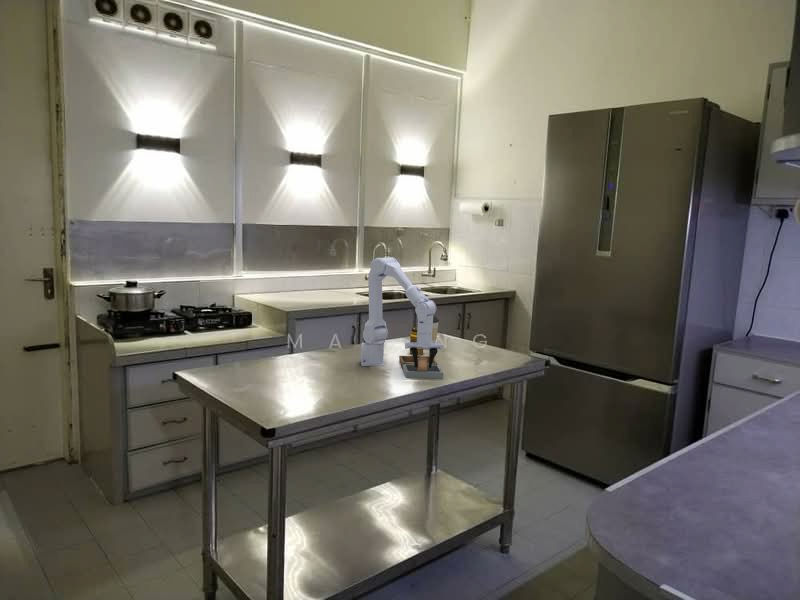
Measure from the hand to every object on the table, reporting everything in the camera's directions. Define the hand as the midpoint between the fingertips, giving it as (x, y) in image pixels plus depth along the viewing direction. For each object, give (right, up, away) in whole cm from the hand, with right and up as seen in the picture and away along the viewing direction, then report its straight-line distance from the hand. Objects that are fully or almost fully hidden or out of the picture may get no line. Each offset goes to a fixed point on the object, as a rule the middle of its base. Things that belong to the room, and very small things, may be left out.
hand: (422, 367), depth 221 cm
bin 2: (0, -3, +1) cm, 3 cm away
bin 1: (-2, -1, +13) cm, 13 cm away
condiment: (-1, +1, +33) cm, 33 cm away
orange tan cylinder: (0, -3, +1) cm, 3 cm away
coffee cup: (+4, +3, +49) cm, 49 cm away
